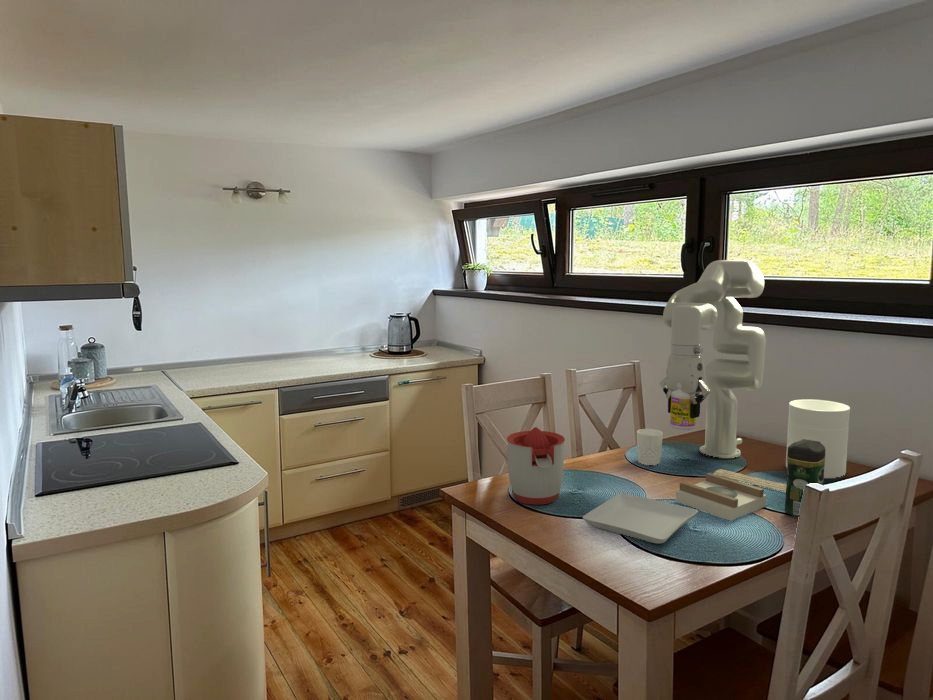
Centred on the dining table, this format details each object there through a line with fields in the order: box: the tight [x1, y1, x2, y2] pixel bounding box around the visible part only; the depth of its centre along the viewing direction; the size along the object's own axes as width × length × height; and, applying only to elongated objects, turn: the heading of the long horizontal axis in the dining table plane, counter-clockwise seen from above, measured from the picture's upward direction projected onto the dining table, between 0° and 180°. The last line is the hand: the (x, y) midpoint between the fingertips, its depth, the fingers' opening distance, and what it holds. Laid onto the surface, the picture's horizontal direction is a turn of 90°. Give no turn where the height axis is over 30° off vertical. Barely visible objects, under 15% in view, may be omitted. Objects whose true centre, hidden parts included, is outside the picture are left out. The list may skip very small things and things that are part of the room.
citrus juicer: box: [506, 426, 566, 505], centre depth 172 cm, size 16×17×20 cm
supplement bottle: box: [669, 383, 697, 431], centre depth 174 cm, size 7×7×13 cm
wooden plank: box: [712, 468, 787, 491], centre depth 183 cm, size 24×7×2 cm, turn 43°
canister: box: [785, 398, 851, 479], centre depth 191 cm, size 16×16×20 cm
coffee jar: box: [784, 439, 825, 519], centre depth 159 cm, size 10×8×19 cm
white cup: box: [636, 428, 664, 466], centre depth 201 cm, size 8×8×10 cm
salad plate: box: [582, 492, 699, 544], centre depth 155 cm, size 21×21×3 cm
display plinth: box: [675, 472, 767, 522], centre depth 167 cm, size 16×16×5 cm
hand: (683, 414), depth 175 cm, fingers closed on supplement bottle, 6 cm apart
